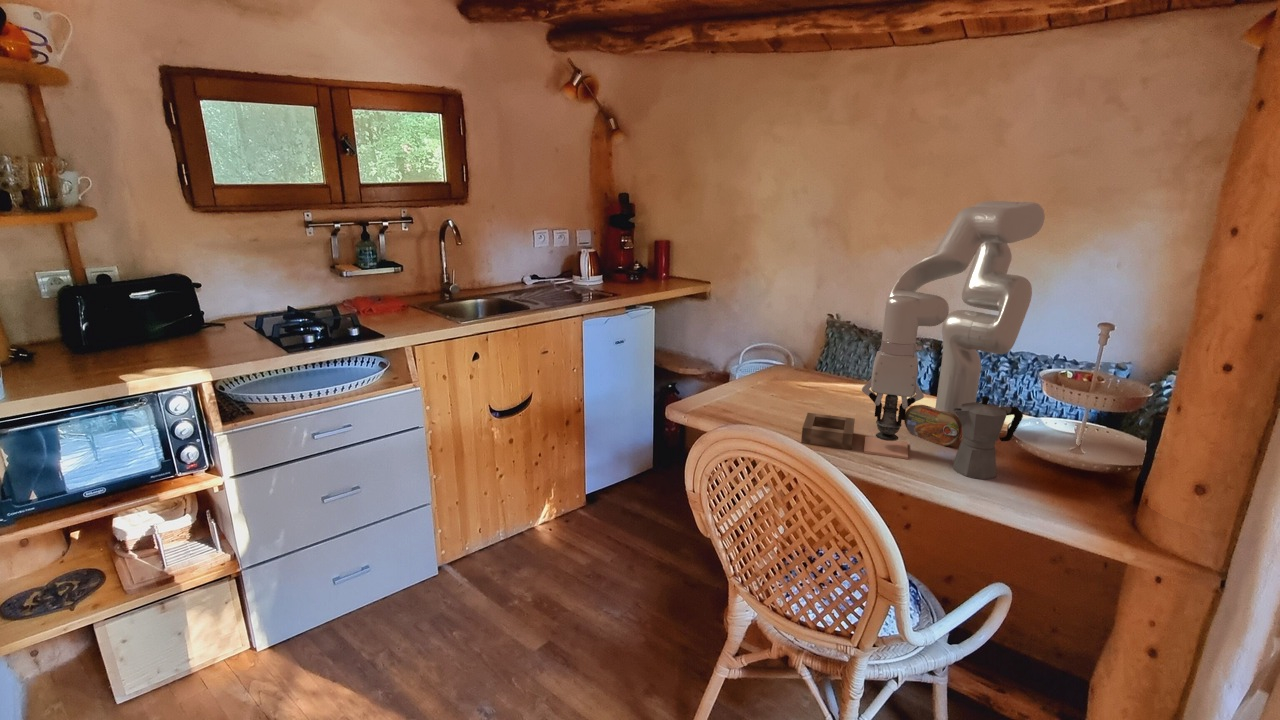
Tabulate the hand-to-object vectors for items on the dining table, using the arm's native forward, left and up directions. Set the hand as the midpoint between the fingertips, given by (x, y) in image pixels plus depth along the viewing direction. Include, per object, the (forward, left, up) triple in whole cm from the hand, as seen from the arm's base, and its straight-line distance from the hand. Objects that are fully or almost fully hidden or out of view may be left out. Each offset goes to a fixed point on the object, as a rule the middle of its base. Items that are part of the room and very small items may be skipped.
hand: (889, 420), depth 157 cm
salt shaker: (0, 0, -5) cm, 5 cm away
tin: (-11, -11, -8) cm, 17 cm away
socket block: (+14, -2, -7) cm, 16 cm away
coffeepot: (-20, +6, -8) cm, 22 cm away
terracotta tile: (0, 0, -7) cm, 7 cm away
